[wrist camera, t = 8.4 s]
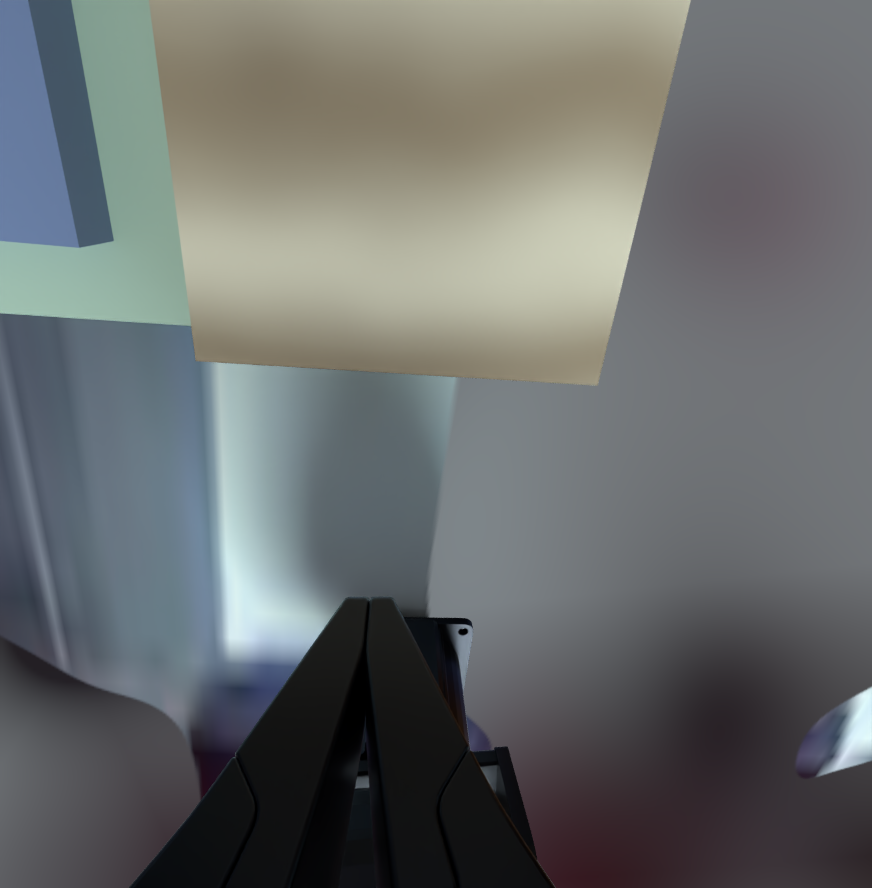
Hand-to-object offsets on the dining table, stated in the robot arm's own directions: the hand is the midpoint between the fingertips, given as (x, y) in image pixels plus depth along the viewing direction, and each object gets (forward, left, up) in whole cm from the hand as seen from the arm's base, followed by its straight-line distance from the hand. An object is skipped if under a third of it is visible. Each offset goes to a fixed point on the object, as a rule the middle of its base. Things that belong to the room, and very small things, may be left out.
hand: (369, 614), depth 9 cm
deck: (+8, -1, -12) cm, 14 cm away
